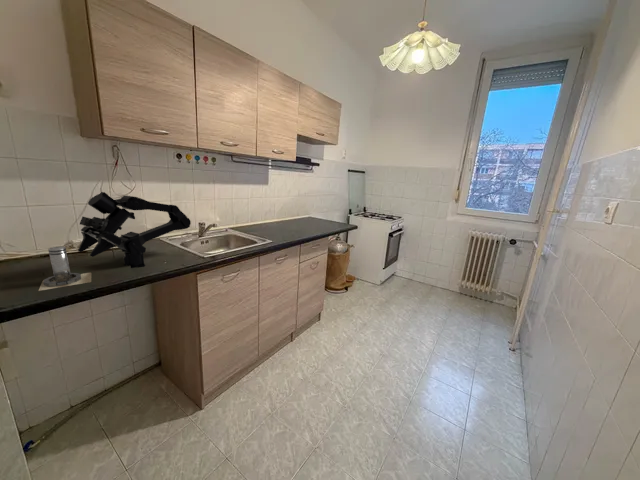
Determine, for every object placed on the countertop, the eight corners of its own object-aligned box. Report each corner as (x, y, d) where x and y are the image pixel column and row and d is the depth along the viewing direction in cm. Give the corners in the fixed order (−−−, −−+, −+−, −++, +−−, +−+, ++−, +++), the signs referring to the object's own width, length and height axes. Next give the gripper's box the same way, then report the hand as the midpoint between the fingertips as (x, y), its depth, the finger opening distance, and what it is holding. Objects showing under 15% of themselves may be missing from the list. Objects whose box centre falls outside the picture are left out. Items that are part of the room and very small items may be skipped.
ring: (81, 274, 97) (81, 271, 97) (80, 282, 90) (80, 279, 90) (46, 279, 91) (45, 276, 91) (42, 288, 84) (41, 285, 84)
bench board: (91, 274, 99) (91, 272, 99) (91, 284, 91) (91, 281, 91) (43, 282, 91) (43, 279, 91) (38, 293, 83) (38, 290, 83)
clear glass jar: (68, 277, 94) (62, 245, 90) (74, 280, 92) (68, 247, 89) (52, 281, 90) (45, 248, 87) (58, 284, 88) (51, 250, 85)
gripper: (82, 206, 99) (50, 238, 93) (107, 211, 91) (74, 247, 85) (109, 222, 108) (81, 253, 102) (134, 228, 100) (105, 262, 94)
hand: (85, 253), depth 95 cm, fingers open, 9 cm apart
